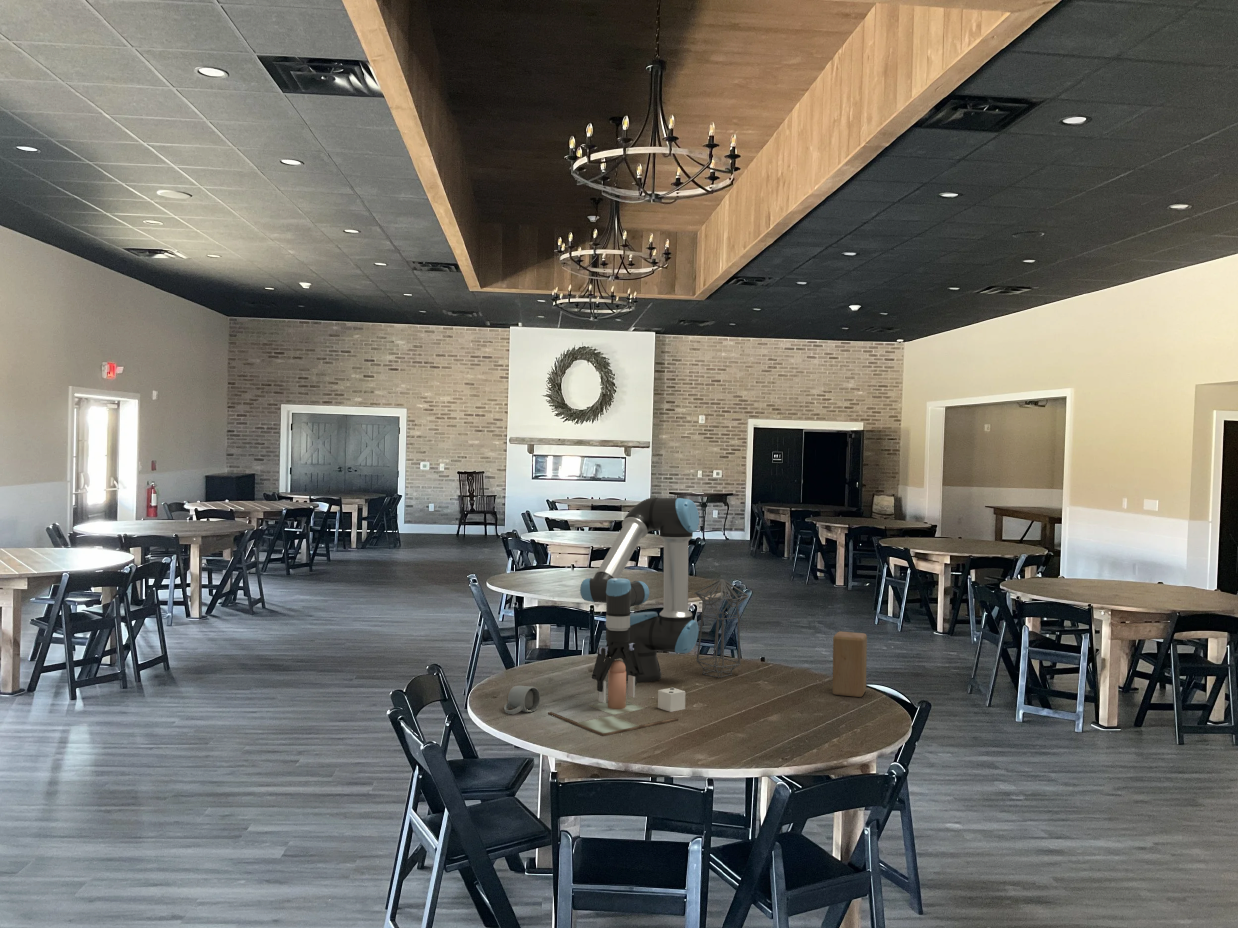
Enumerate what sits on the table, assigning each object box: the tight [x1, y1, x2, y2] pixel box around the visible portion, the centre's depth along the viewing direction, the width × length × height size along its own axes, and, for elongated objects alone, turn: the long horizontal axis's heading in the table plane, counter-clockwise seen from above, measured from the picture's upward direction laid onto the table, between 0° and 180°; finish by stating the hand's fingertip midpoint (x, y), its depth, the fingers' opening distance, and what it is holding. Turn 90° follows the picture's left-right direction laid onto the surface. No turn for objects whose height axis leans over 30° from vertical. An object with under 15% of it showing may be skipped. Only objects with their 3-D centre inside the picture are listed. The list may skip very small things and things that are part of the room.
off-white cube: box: [657, 687, 686, 713], centre depth 288 cm, size 6×6×6 cm
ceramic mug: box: [503, 685, 541, 715], centre depth 285 cm, size 11×8×8 cm
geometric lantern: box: [693, 578, 749, 679], centre depth 339 cm, size 16×16×35 cm
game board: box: [547, 701, 679, 737], centre depth 279 cm, size 28×28×1 cm
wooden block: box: [832, 630, 868, 698], centre depth 314 cm, size 10×10×20 cm
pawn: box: [607, 659, 627, 709], centre depth 289 cm, size 6×6×15 cm
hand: (616, 699), depth 289 cm, fingers open, 11 cm apart
